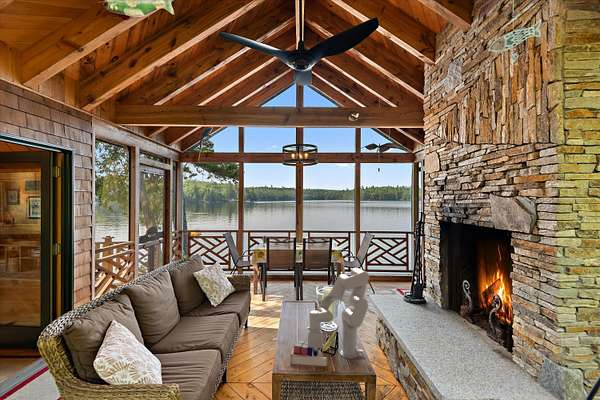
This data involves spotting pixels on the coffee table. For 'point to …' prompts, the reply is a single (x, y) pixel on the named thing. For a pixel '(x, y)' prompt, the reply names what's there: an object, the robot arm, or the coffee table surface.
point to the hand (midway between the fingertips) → (315, 356)
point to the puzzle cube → (302, 348)
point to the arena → (307, 359)
